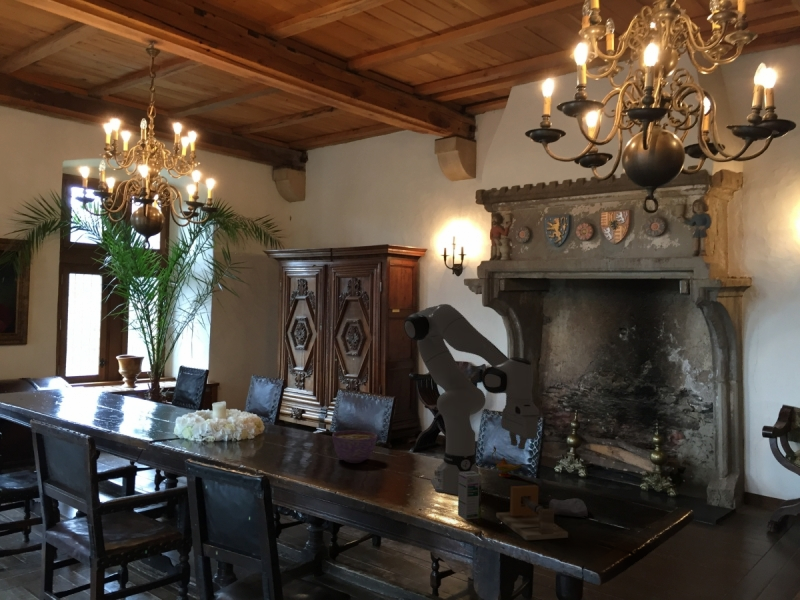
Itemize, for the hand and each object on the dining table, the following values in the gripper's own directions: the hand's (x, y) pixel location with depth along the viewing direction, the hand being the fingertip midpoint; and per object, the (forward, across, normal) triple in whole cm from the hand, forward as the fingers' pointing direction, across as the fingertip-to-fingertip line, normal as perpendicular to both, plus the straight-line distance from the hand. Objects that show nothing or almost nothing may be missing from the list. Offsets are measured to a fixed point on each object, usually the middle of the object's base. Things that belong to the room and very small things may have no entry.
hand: (517, 447), depth 221 cm
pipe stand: (+23, +11, 0) cm, 26 cm away
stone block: (+24, 0, +20) cm, 31 cm away
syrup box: (+23, -2, -16) cm, 28 cm away
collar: (+21, +6, 0) cm, 21 cm away
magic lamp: (+23, -48, +20) cm, 57 cm away
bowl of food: (+23, -83, -38) cm, 94 cm away
